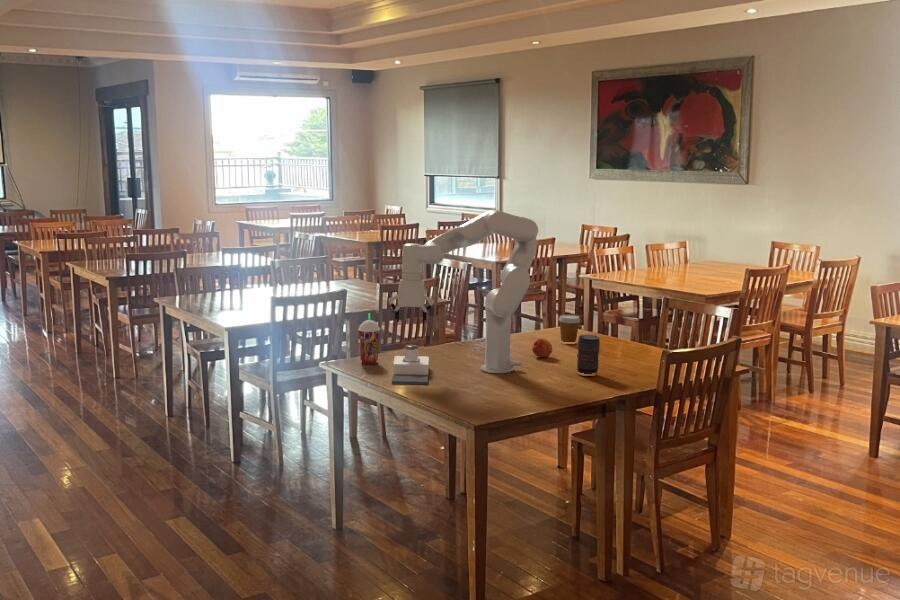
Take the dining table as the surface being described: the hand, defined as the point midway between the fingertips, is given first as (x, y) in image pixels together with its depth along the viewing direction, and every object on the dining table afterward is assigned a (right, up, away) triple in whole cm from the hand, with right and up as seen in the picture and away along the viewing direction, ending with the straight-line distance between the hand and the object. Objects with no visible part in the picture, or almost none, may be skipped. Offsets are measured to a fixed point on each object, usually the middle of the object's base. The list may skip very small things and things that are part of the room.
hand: (410, 321), depth 330 cm
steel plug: (0, -19, +3) cm, 19 cm away
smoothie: (-17, -17, +16) cm, 29 cm away
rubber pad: (0, -21, -9) cm, 23 cm away
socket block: (0, -19, +3) cm, 19 cm away
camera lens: (+67, -21, +3) cm, 70 cm away
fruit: (+53, -16, +31) cm, 63 cm away
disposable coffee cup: (+67, -11, +59) cm, 90 cm away
